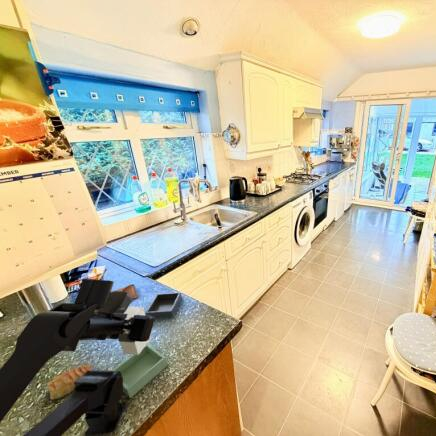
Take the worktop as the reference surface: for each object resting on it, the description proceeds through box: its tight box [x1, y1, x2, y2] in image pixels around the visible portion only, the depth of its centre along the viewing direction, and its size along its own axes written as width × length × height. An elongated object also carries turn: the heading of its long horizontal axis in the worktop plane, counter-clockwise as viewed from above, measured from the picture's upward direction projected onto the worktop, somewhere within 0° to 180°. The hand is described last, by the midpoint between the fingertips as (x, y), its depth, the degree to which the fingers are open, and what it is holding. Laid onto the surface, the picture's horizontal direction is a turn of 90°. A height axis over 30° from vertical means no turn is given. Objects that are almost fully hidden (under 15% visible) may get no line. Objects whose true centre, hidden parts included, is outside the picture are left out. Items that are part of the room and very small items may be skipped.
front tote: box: [111, 343, 168, 399], centre depth 71 cm, size 11×10×4 cm
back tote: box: [144, 291, 183, 319], centre depth 96 cm, size 11×10×4 cm
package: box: [117, 306, 152, 356], centre depth 68 cm, size 6×5×12 cm
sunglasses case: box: [95, 284, 139, 312], centre depth 99 cm, size 18×7×7 cm, turn 133°
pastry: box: [46, 364, 93, 401], centre depth 68 cm, size 9×7×4 cm
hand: (136, 325), depth 70 cm, fingers closed on package, 4 cm apart
